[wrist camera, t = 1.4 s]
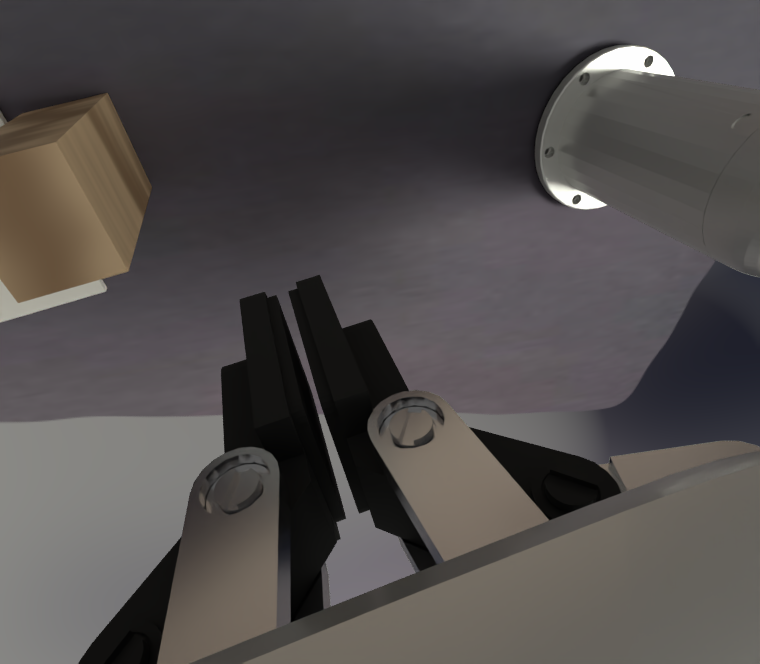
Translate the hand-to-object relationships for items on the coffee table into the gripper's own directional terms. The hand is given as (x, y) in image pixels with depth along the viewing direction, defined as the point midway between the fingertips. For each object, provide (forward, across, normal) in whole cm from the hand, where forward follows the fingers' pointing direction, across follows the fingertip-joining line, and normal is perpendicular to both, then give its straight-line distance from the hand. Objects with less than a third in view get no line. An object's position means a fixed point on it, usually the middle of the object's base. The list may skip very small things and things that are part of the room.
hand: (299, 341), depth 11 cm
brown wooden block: (+27, +10, 0) cm, 29 cm away
